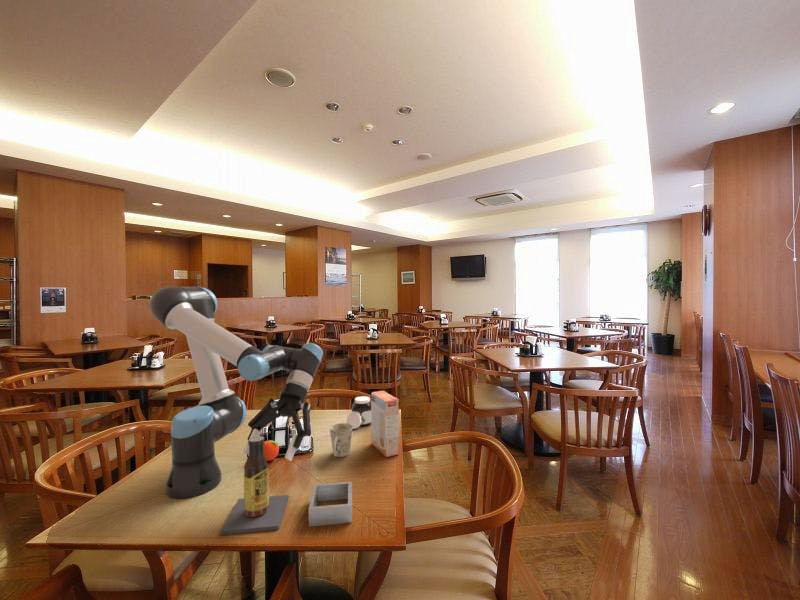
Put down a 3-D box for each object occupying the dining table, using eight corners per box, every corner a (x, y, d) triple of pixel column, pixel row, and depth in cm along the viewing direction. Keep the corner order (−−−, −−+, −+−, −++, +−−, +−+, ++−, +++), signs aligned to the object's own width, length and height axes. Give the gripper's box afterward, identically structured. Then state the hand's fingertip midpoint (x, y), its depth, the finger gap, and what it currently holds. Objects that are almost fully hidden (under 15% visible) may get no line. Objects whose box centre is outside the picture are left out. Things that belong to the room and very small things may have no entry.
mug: (355, 449, 137) (354, 423, 137) (346, 464, 124) (346, 436, 124) (333, 448, 138) (333, 422, 137) (323, 464, 125) (323, 435, 125)
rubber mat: (220, 535, 89) (220, 531, 89) (238, 502, 103) (238, 499, 103) (278, 529, 91) (278, 525, 90) (288, 498, 104) (288, 494, 104)
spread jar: (373, 420, 168) (373, 395, 168) (373, 429, 156) (373, 403, 156) (348, 421, 167) (347, 396, 167) (346, 430, 156) (345, 404, 156)
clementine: (285, 455, 132) (284, 436, 132) (277, 464, 125) (276, 444, 125) (264, 455, 132) (263, 436, 132) (255, 464, 126) (254, 444, 125)
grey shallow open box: (308, 526, 91) (308, 509, 91) (314, 499, 103) (313, 484, 103) (351, 522, 93) (351, 505, 93) (352, 496, 105) (351, 481, 105)
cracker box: (400, 454, 131) (399, 398, 131) (385, 458, 129) (384, 401, 128) (384, 441, 144) (384, 389, 144) (371, 443, 141) (370, 391, 141)
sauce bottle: (257, 520, 92) (255, 445, 92) (239, 516, 95) (236, 442, 94) (274, 506, 99) (272, 435, 98) (256, 502, 101) (254, 433, 100)
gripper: (336, 396, 111) (311, 467, 98) (269, 390, 119) (237, 455, 105) (327, 384, 106) (300, 457, 92) (258, 379, 114) (223, 445, 100)
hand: (266, 456), depth 99 cm, fingers open, 13 cm apart
